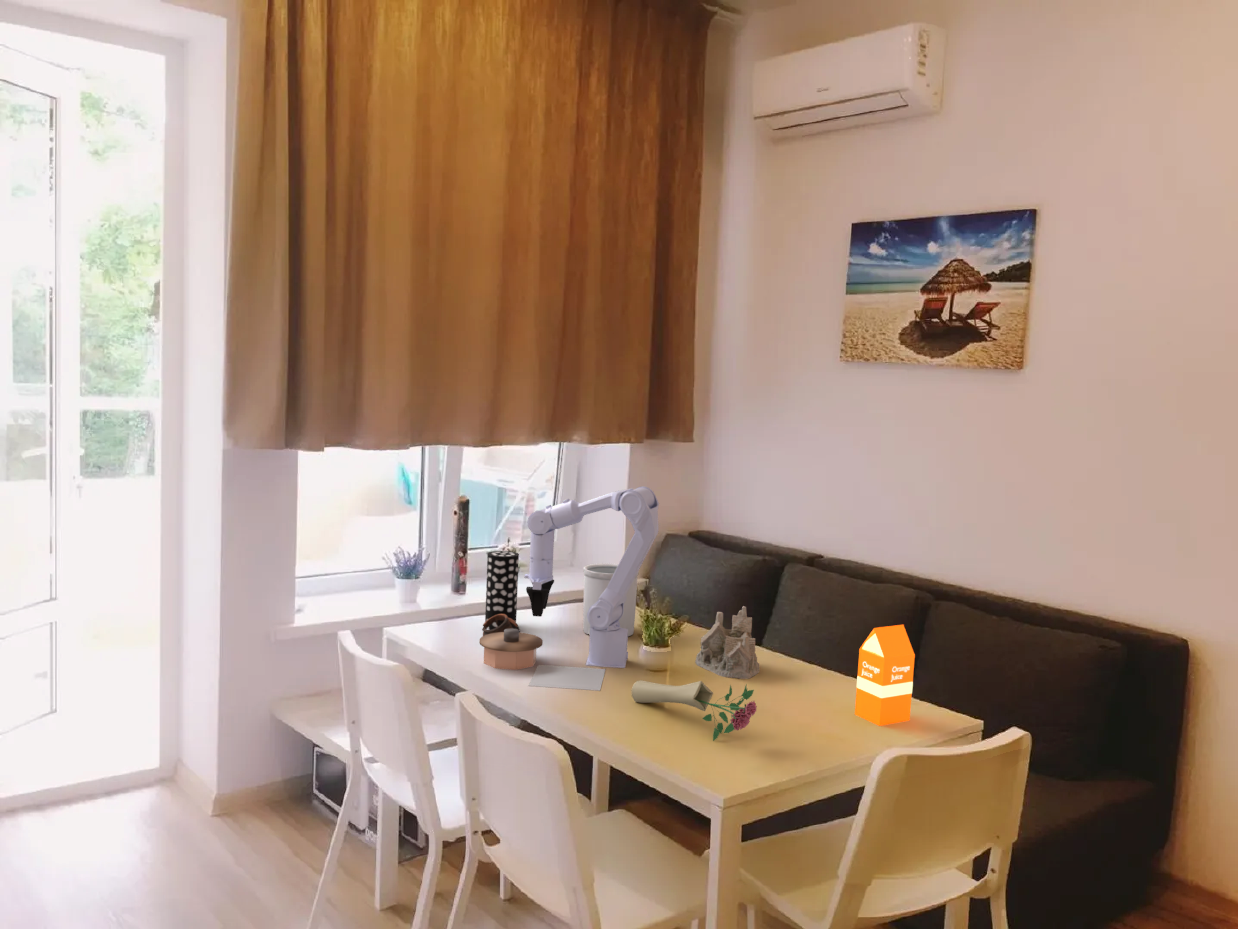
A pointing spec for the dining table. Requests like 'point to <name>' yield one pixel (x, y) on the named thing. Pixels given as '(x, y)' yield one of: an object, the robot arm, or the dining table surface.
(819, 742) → the dining table surface
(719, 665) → the ceramic cottage
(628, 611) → the utensil holder
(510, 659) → the terracotta bowl
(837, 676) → the dining table surface
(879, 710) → the orange juice
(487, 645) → the walnut lid
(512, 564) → the white-spotted black cylinder
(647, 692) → the flower vase
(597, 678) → the grey mat
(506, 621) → the brown openwork ring
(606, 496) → the robot arm
